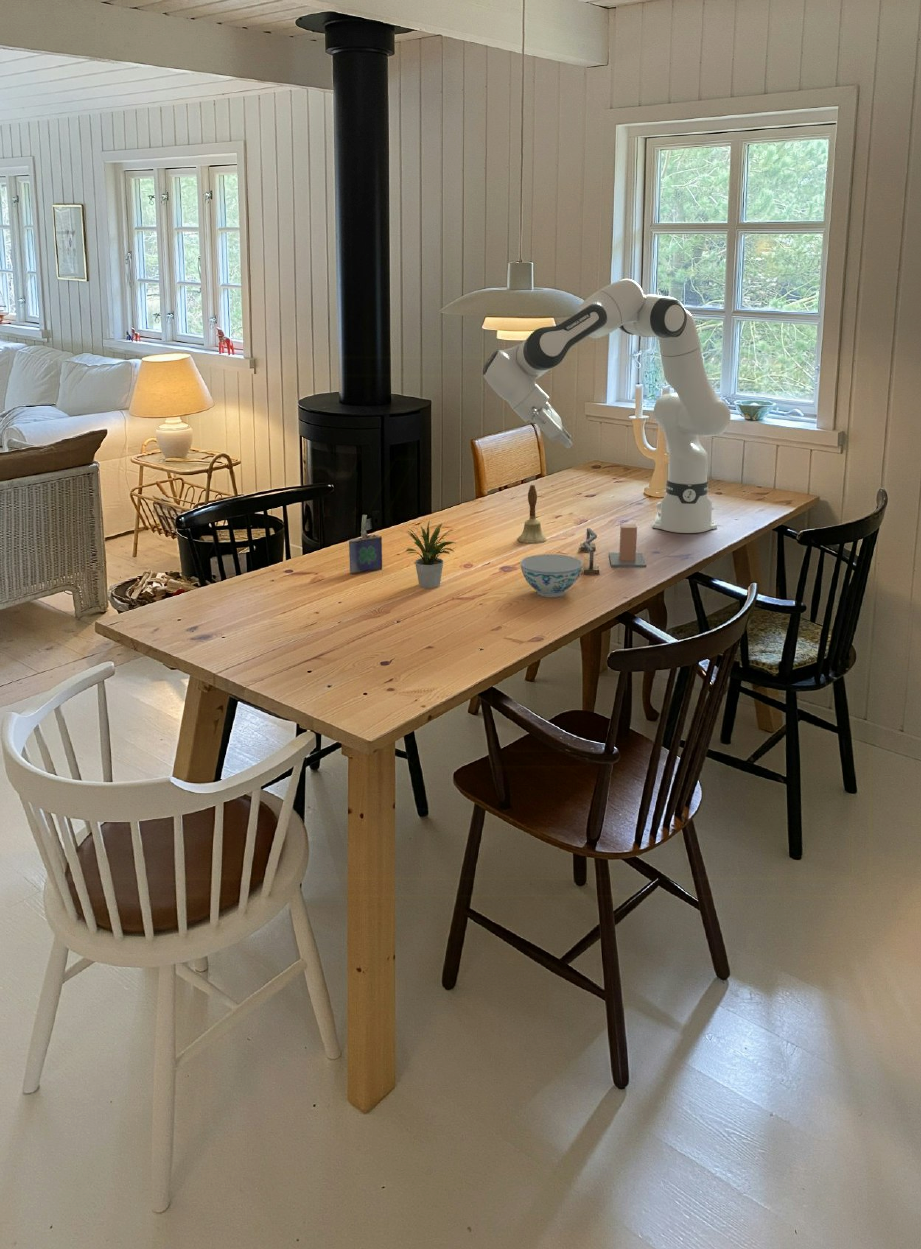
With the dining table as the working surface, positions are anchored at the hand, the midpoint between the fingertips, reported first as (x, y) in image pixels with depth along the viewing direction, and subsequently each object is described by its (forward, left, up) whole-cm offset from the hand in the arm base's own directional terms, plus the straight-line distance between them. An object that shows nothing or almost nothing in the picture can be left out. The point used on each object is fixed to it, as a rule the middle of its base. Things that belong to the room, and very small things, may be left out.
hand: (570, 443), depth 283 cm
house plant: (+25, -36, -32) cm, 54 cm away
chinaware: (+29, -5, -32) cm, 43 cm away
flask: (+12, -53, -32) cm, 63 cm away
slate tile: (0, +16, -31) cm, 35 cm away
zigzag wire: (0, +6, -31) cm, 32 cm away
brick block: (0, +16, -31) cm, 35 cm away
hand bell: (-21, -10, -32) cm, 39 cm away
